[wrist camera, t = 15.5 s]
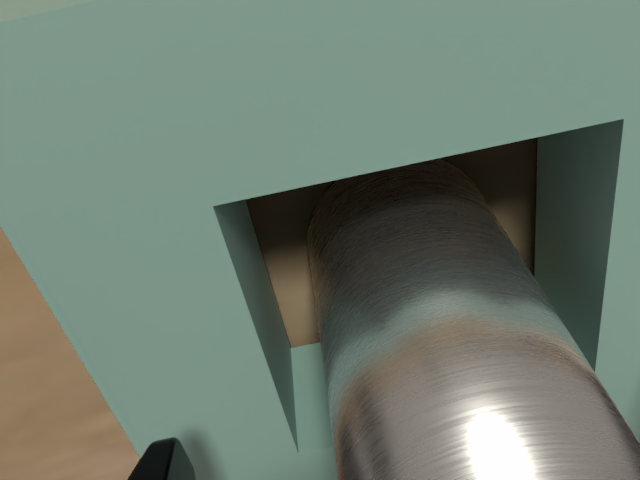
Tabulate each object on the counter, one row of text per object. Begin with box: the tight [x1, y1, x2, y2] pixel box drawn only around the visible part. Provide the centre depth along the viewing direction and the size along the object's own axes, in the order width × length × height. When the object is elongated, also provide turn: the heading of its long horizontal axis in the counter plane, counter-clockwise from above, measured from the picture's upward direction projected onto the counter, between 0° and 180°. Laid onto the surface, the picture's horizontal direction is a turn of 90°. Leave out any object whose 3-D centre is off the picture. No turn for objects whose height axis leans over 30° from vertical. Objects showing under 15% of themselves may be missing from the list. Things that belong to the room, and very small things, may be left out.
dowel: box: [307, 158, 640, 480], centre depth 10 cm, size 4×4×8 cm
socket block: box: [0, 0, 640, 480], centre depth 11 cm, size 12×12×3 cm
